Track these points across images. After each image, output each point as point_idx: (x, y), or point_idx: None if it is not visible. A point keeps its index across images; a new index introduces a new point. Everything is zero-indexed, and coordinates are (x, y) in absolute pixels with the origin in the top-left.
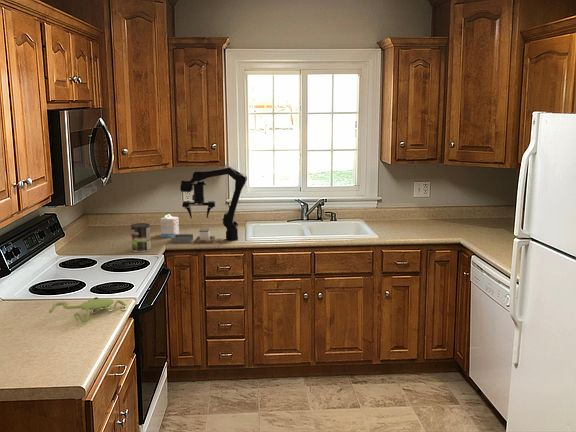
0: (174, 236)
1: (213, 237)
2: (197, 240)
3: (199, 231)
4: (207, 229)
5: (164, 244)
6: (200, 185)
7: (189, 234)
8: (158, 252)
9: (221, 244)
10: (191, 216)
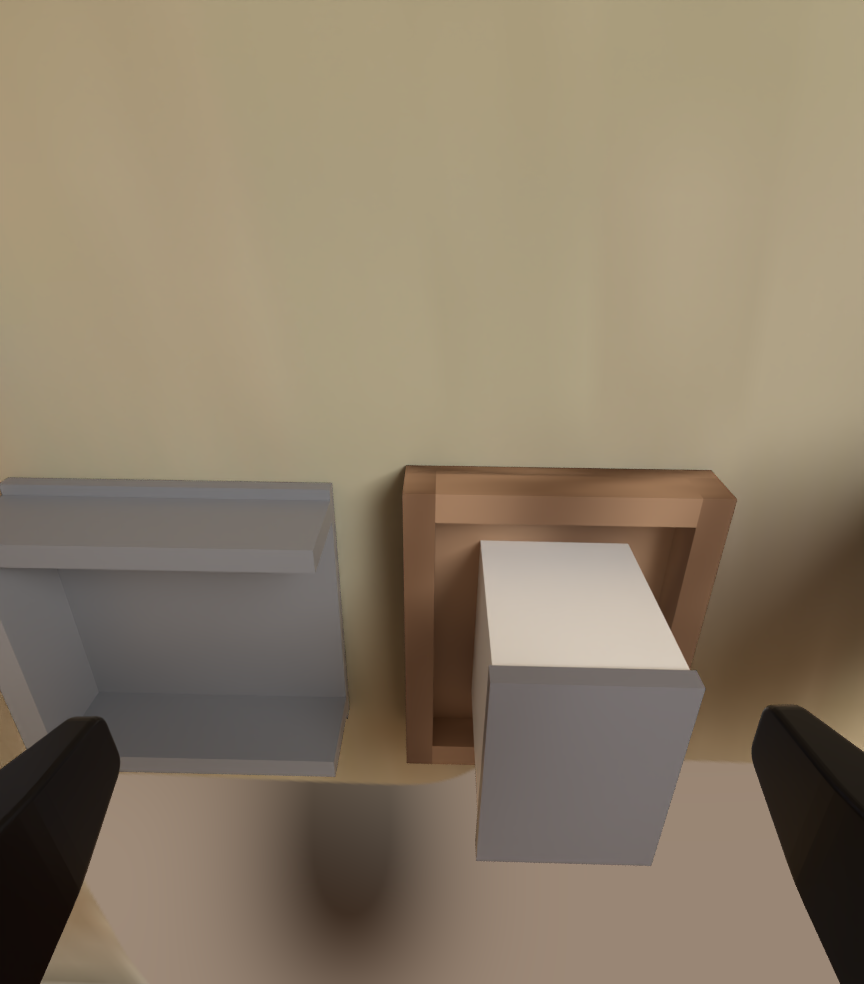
0: (27, 666)
1: (700, 605)
2: (443, 753)
3: (478, 849)
4: (640, 783)
5: (6, 715)
6: None
7: (250, 570)
8: (113, 946)
9: None
10: (82, 878)
